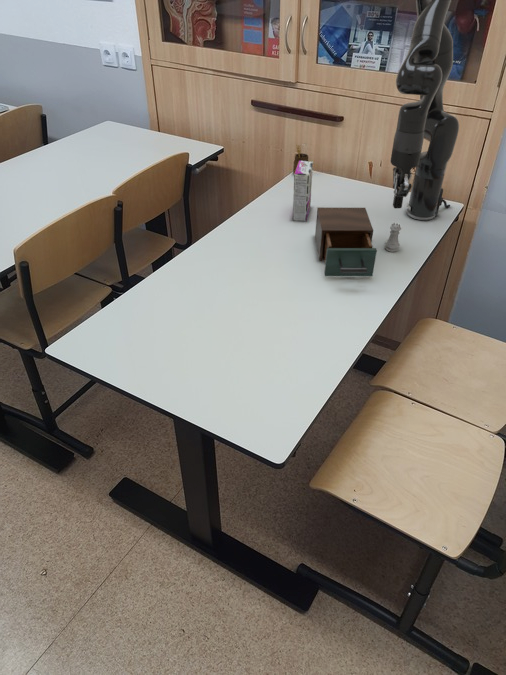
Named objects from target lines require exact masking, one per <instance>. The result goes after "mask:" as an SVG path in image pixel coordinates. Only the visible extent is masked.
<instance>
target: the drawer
mask: <svg viewBox="0 0 506 675" xmlns="http://www.w3.org/2000/svg"><path fill="white" fill-rule="evenodd" d="M323 255H324V260H325V261H324V277H373V276H374V269H375V263H376V257H377V248H376V247H374V246H373V243H371V240H370V237H369V234H368V233H324V244H323Z"/></svg>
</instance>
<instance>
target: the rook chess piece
mask: <svg viewBox="0 0 506 675" xmlns="http://www.w3.org/2000/svg"><path fill="white" fill-rule="evenodd" d="M389 229H390V231H389V233H390V234H389V237H388V239H387V241H385V243H384V244H385V245H384V249H385V250H386V251H387V252H389V253H396V252H398V251H399V250H400V246H401V245H400V242H399V235H400V231H401V230H402V227H401V224H400V223H398V222H397V223H396V222H393V223H391V225H390V227H389Z"/></svg>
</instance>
